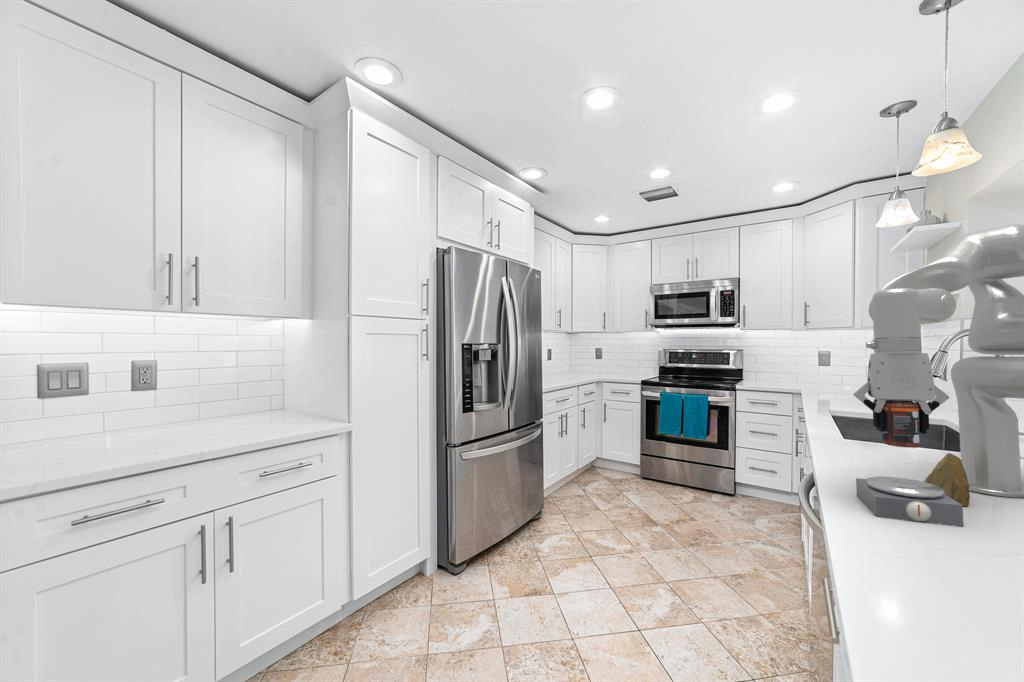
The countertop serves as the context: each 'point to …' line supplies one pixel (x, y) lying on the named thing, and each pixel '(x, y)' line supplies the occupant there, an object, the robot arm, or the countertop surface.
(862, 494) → the scale base
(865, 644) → the countertop surface
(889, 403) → the supplement bottle
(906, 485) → the scale pan
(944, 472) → the rock
